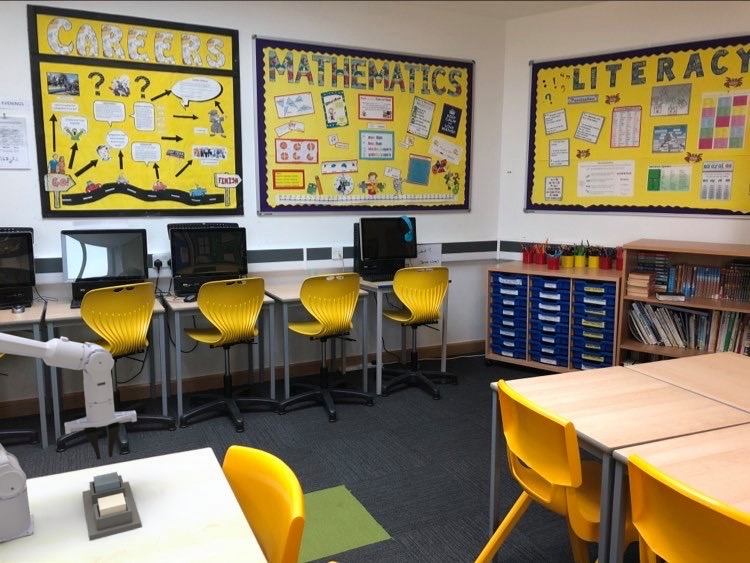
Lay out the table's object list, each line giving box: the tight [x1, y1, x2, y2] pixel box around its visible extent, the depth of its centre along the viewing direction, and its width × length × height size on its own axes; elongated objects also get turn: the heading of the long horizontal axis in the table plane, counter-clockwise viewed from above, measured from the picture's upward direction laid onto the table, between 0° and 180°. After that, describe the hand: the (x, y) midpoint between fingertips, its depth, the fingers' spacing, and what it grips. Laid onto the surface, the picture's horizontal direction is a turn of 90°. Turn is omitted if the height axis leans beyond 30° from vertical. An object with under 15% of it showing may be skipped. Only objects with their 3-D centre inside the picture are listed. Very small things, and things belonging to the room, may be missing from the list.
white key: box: [98, 493, 126, 517], centre depth 131 cm, size 5×5×2 cm
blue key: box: [93, 471, 120, 493], centre depth 141 cm, size 5×5×2 cm
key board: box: [82, 474, 143, 541], centre depth 136 cm, size 10×20×4 cm, turn 28°
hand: (104, 456), depth 139 cm, fingers closed
